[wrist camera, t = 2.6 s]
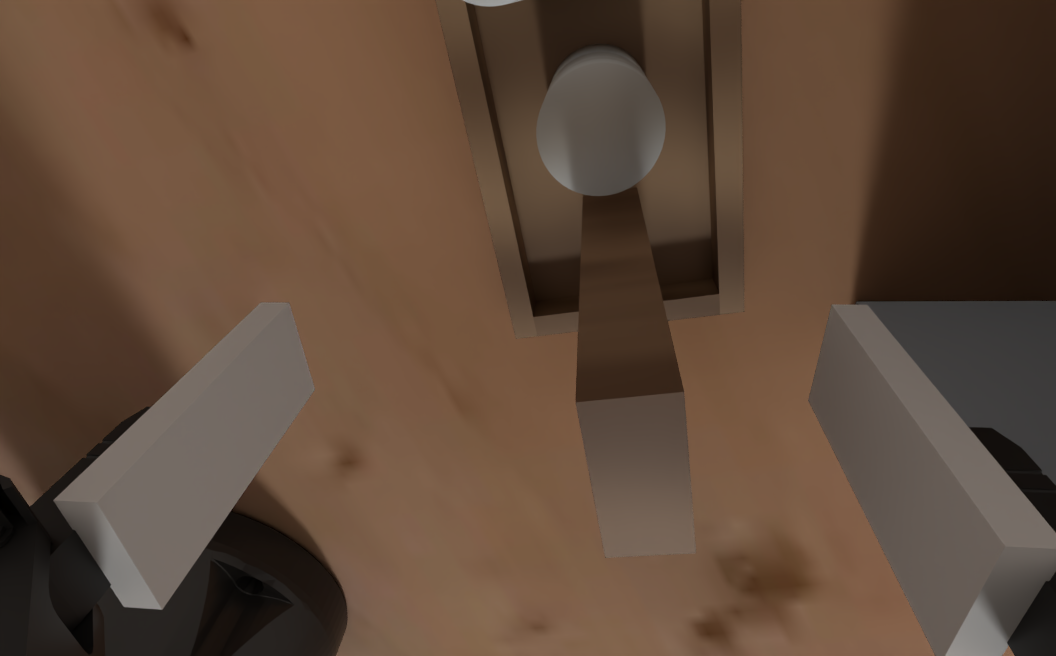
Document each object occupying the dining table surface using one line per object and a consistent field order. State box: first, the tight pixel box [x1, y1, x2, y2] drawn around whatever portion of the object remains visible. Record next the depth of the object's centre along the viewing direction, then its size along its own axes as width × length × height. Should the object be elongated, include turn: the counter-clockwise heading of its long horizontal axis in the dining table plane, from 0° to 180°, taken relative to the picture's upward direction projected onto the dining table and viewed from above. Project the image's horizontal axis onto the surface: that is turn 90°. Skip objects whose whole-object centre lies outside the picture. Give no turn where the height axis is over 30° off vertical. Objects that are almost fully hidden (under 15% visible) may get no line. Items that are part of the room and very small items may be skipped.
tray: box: [435, 0, 744, 558], centre depth 13 cm, size 16×8×12 cm, turn 11°
